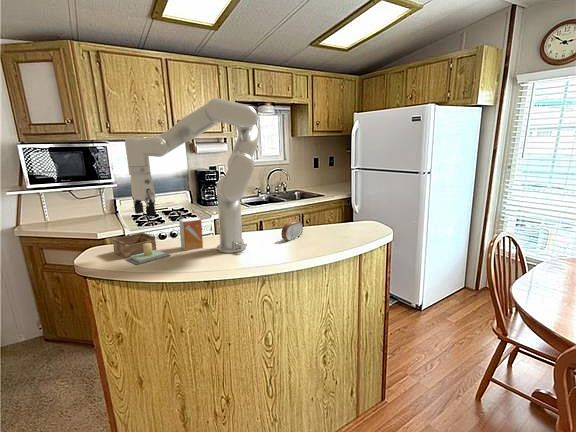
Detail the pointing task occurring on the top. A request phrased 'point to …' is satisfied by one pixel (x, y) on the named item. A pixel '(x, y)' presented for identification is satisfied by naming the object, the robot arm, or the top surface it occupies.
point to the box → (132, 244)
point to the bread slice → (292, 230)
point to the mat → (145, 261)
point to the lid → (148, 254)
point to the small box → (191, 233)
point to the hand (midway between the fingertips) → (145, 214)
